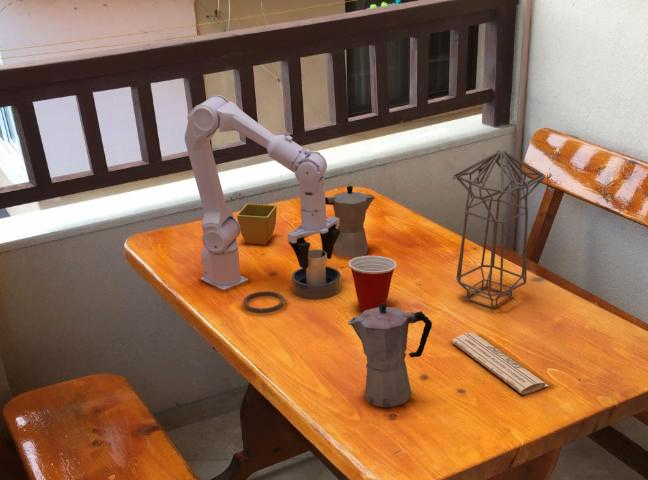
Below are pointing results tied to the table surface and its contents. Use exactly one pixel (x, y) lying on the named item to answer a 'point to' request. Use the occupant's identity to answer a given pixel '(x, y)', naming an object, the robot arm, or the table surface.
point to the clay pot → (316, 267)
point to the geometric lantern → (487, 163)
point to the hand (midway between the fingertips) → (315, 262)
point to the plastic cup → (372, 279)
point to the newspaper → (499, 363)
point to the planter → (316, 290)
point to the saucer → (263, 310)
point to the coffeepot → (350, 222)
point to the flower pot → (257, 222)
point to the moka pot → (388, 352)
